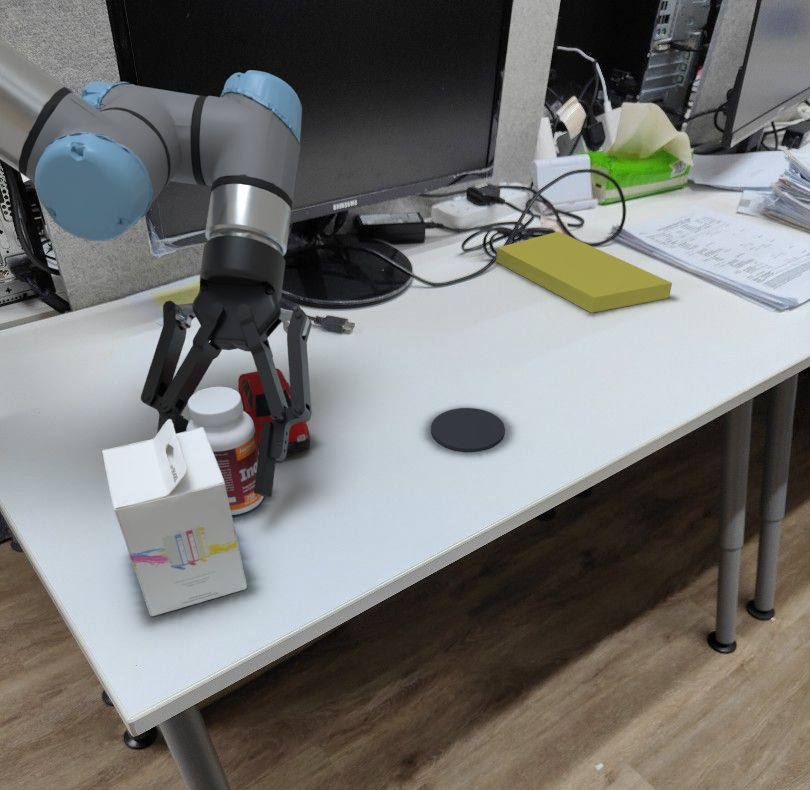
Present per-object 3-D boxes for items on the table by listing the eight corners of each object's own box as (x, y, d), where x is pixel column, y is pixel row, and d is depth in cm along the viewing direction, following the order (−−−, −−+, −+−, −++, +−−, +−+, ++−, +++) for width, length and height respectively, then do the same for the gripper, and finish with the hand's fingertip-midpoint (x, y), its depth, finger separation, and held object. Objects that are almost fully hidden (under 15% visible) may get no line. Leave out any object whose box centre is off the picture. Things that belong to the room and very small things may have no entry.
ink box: (134, 555, 69) (91, 429, 60) (226, 529, 71) (198, 405, 62) (150, 619, 63) (105, 491, 54) (249, 589, 65) (222, 462, 56)
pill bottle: (259, 518, 72) (240, 419, 65) (195, 517, 73) (169, 418, 65) (271, 479, 77) (255, 382, 70) (211, 477, 77) (189, 381, 70)
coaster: (417, 423, 84) (417, 420, 84) (477, 403, 87) (477, 400, 87) (456, 460, 79) (456, 456, 78) (519, 437, 82) (519, 434, 81)
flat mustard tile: (496, 261, 118) (603, 319, 102) (497, 247, 116) (606, 303, 101) (557, 245, 122) (668, 298, 107) (558, 231, 121) (672, 282, 105)
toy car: (257, 467, 78) (250, 426, 75) (235, 398, 89) (227, 360, 85) (318, 454, 80) (313, 413, 77) (289, 388, 90) (283, 350, 87)
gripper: (363, 272, 73) (336, 505, 72) (158, 261, 76) (128, 485, 75) (347, 236, 66) (316, 496, 65) (120, 226, 69) (87, 473, 68)
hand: (215, 490), depth 70 cm, fingers open, 8 cm apart
